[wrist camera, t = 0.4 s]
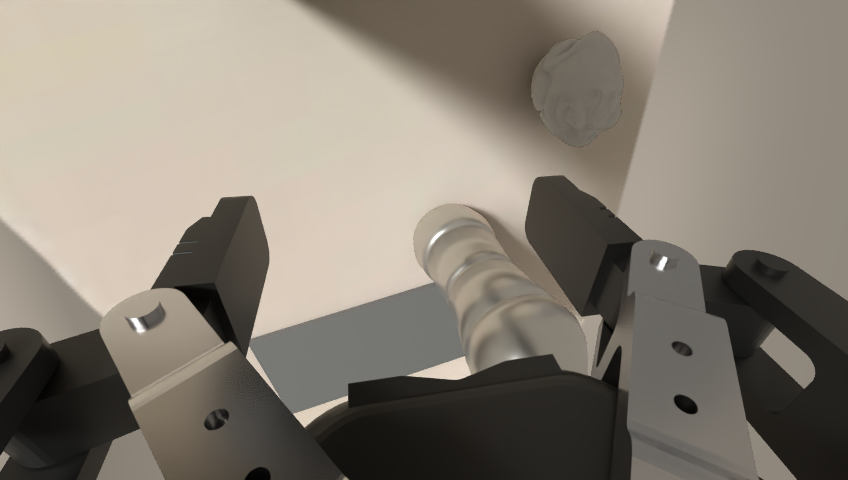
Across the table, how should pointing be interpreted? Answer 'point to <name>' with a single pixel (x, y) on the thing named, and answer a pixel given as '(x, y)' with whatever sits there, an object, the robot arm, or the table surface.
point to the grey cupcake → (579, 88)
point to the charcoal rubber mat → (358, 346)
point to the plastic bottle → (493, 294)
